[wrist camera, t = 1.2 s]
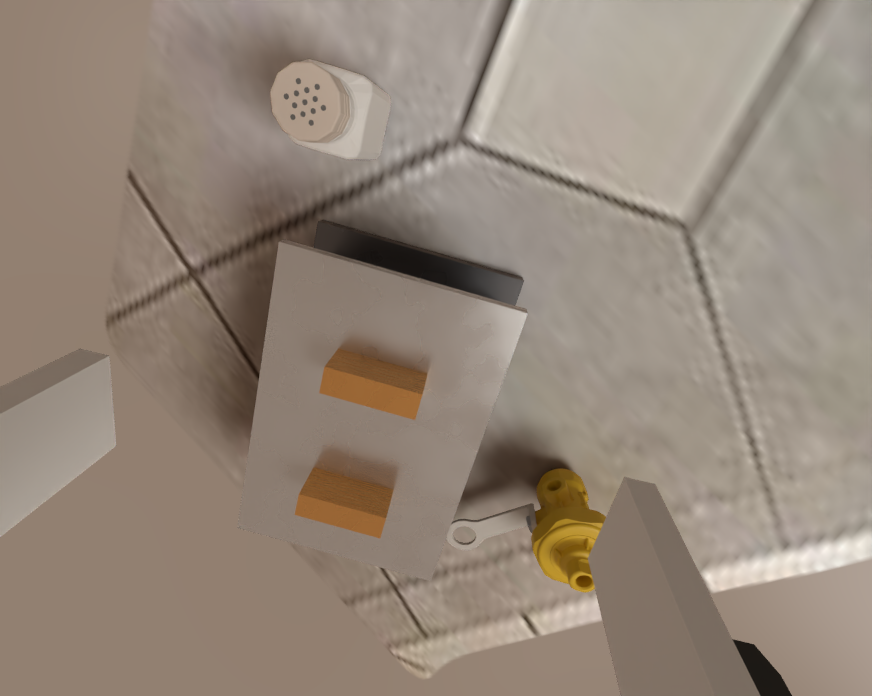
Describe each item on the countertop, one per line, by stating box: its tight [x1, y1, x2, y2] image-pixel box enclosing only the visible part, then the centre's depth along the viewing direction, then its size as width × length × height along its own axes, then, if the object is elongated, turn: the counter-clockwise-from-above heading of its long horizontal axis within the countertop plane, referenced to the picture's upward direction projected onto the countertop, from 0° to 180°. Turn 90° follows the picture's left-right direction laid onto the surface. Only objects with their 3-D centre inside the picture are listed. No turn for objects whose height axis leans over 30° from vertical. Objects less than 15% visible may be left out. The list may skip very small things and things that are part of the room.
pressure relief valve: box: [447, 469, 606, 592], centre depth 34 cm, size 6×12×10 cm, turn 115°
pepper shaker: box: [270, 59, 391, 160], centre depth 25 cm, size 4×4×10 cm
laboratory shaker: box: [238, 220, 528, 581], centre depth 30 cm, size 19×14×11 cm
